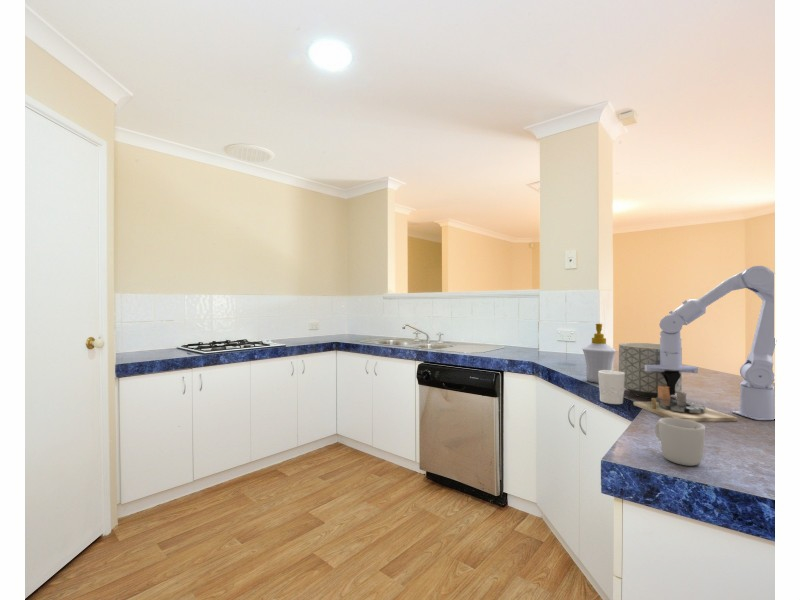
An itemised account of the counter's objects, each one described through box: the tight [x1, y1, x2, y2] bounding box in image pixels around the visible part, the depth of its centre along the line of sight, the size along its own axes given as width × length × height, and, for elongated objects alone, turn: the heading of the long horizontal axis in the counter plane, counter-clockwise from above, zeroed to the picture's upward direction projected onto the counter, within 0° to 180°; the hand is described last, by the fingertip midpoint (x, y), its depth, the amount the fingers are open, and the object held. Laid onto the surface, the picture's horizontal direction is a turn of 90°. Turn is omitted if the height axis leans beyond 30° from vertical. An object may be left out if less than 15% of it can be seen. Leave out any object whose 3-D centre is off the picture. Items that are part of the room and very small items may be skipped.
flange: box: [656, 385, 707, 413], centre depth 120 cm, size 15×11×5 cm
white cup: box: [598, 370, 625, 405], centre depth 130 cm, size 8×8×10 cm
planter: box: [618, 342, 683, 399], centre depth 139 cm, size 19×19×18 cm
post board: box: [633, 391, 738, 422], centre depth 118 cm, size 18×18×6 cm
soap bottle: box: [581, 323, 617, 384], centre depth 164 cm, size 13×13×25 cm
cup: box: [654, 417, 706, 467], centre depth 82 cm, size 11×8×8 cm
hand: (670, 394), depth 125 cm, fingers closed, pressing on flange
